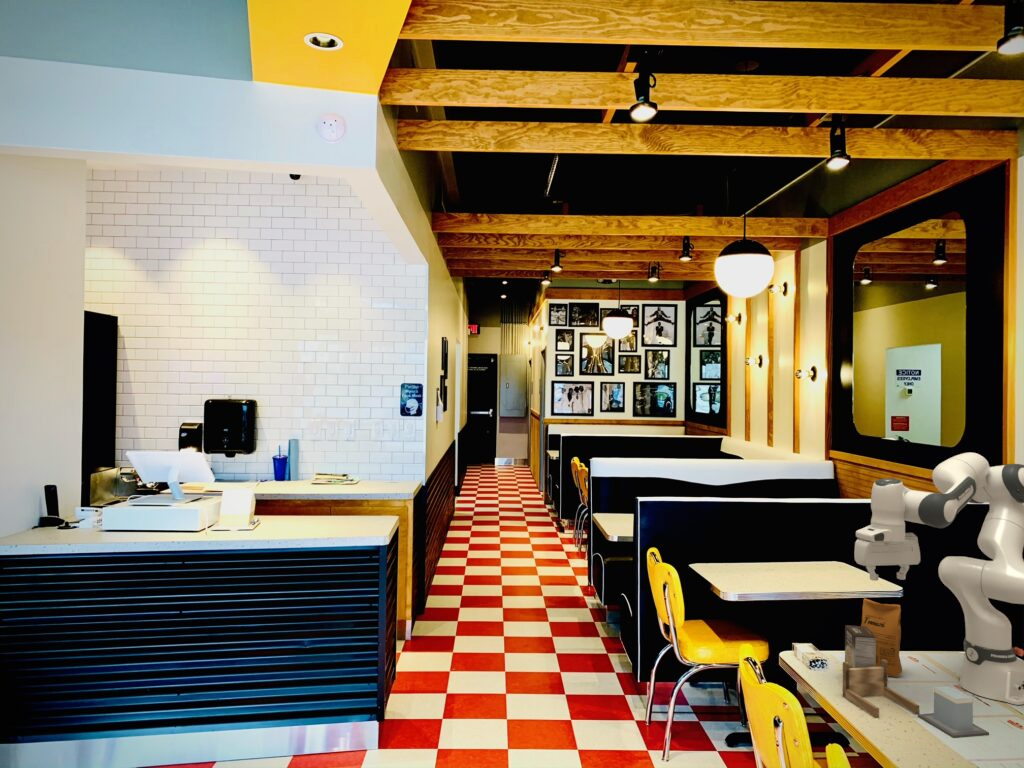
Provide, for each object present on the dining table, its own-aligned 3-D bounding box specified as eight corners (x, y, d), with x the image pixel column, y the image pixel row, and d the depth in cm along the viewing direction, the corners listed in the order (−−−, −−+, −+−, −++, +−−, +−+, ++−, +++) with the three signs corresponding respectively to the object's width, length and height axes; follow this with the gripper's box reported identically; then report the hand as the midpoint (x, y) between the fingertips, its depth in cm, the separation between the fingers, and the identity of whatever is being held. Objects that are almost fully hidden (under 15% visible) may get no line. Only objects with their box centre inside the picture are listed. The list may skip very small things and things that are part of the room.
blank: (949, 715, 169) (949, 686, 170) (973, 729, 162) (973, 698, 163) (933, 717, 168) (933, 687, 169) (956, 730, 161) (956, 699, 162)
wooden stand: (884, 693, 183) (884, 659, 184) (919, 714, 171) (919, 677, 171) (842, 696, 181) (842, 661, 181) (875, 717, 168) (875, 680, 169)
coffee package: (861, 659, 209) (862, 594, 209) (904, 670, 200) (904, 602, 201) (854, 668, 201) (854, 600, 202) (898, 680, 193) (898, 609, 194)
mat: (951, 713, 172) (951, 711, 172) (989, 734, 161) (989, 732, 161) (917, 716, 170) (917, 714, 170) (953, 737, 159) (953, 735, 159)
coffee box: (843, 675, 195) (844, 624, 196) (865, 677, 194) (866, 626, 195) (853, 688, 186) (853, 634, 187) (876, 690, 185) (877, 636, 186)
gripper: (908, 530, 190) (908, 575, 190) (850, 531, 186) (850, 577, 186) (926, 534, 184) (925, 581, 184) (866, 535, 180) (866, 583, 180)
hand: (887, 579), depth 185 cm, fingers open, 8 cm apart
